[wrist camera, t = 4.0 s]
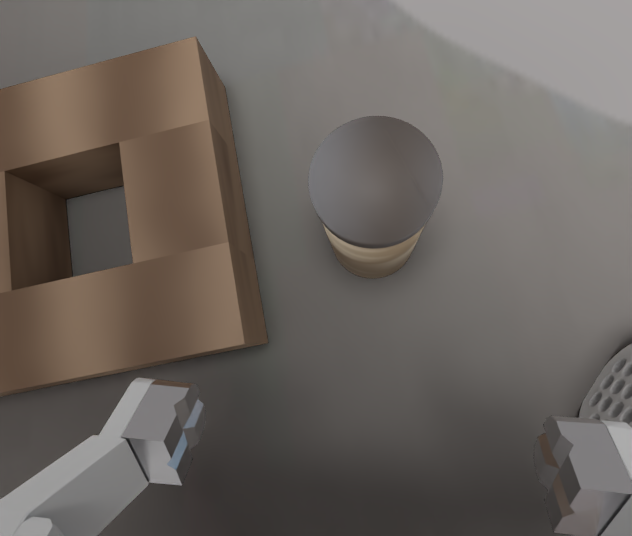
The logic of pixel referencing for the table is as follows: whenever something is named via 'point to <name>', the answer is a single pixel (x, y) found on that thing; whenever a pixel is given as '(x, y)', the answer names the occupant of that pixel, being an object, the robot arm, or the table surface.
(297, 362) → the table surface
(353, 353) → the table surface
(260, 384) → the table surface
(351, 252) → the beech pin
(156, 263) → the socket block
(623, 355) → the flashlight
